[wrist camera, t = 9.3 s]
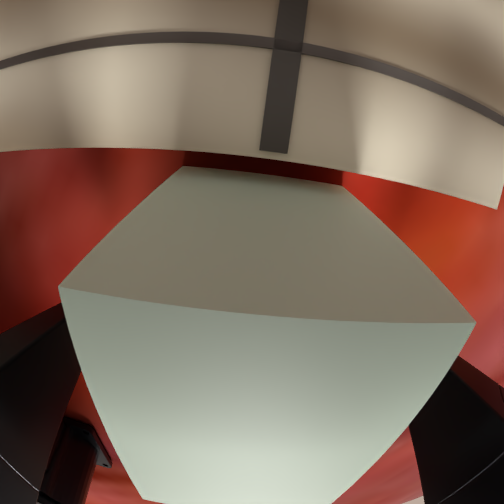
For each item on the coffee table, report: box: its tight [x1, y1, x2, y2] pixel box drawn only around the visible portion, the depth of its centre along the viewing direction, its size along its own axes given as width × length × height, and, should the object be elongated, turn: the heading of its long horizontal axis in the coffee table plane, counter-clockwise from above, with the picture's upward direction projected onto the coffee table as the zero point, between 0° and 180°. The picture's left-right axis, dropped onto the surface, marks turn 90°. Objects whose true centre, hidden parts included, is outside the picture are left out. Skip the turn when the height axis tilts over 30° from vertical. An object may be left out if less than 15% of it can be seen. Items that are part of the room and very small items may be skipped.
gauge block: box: [58, 166, 476, 504], centre depth 8 cm, size 10×5×7 cm, turn 173°
